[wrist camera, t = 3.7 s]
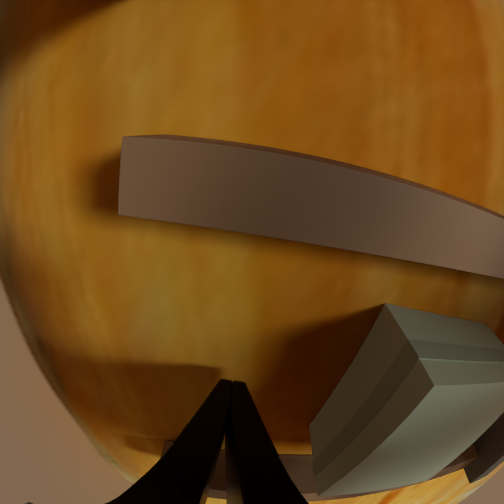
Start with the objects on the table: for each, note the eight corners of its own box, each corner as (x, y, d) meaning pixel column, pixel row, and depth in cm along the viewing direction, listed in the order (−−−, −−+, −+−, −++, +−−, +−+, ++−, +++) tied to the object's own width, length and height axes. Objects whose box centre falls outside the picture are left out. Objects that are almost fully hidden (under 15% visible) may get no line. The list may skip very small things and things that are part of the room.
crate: (484, 320, 9) (532, 377, 6) (406, 423, 12) (427, 480, 8) (382, 298, 9) (434, 384, 5) (306, 422, 12) (316, 496, 8)
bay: (583, 253, 8) (623, 282, 4) (469, 439, 14) (485, 475, 10) (164, 125, 7) (79, 123, 3) (167, 453, 13) (154, 511, 9)
